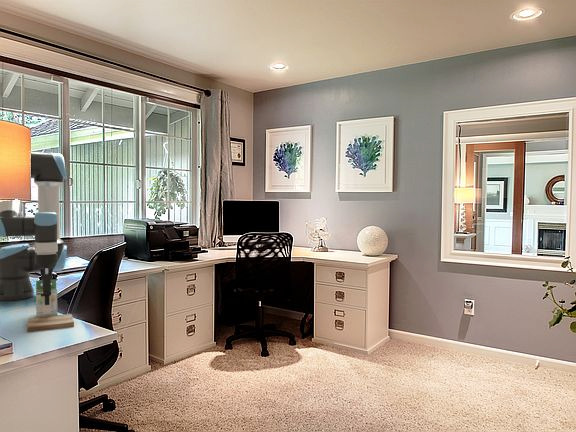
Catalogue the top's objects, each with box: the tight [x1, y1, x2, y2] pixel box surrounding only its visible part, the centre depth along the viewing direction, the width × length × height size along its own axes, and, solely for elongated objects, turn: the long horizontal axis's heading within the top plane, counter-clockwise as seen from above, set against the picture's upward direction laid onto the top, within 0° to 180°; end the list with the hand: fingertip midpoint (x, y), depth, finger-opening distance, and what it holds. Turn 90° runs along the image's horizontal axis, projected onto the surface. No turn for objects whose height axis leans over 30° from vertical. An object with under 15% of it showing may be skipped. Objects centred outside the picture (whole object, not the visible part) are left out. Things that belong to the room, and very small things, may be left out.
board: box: [26, 313, 75, 333], centre depth 153 cm, size 12×14×2 cm
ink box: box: [35, 279, 58, 318], centre depth 163 cm, size 7×4×13 cm, turn 120°
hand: (46, 309), depth 163 cm, fingers open, 13 cm apart
